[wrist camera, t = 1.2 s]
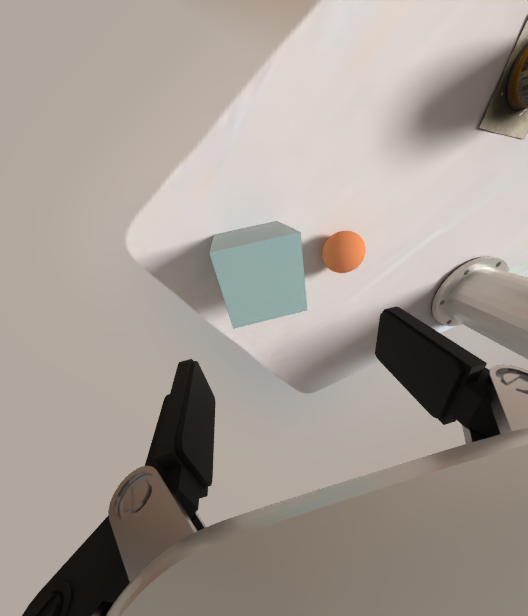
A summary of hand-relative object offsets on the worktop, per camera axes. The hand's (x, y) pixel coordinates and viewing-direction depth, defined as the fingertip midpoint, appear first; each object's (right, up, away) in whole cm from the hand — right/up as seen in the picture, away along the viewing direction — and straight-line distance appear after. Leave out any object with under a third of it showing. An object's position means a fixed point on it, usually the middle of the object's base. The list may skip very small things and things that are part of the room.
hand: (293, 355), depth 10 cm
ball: (+8, +9, +15) cm, 19 cm away
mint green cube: (-3, +9, +16) cm, 18 cm away
